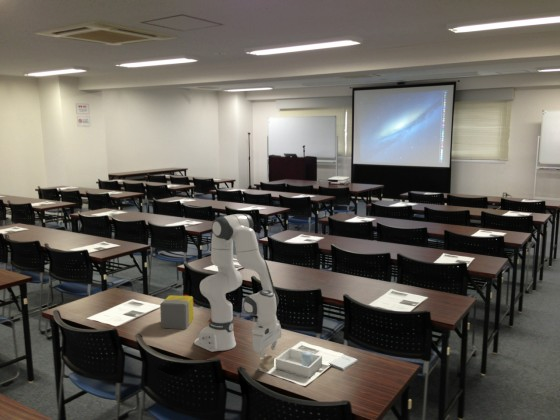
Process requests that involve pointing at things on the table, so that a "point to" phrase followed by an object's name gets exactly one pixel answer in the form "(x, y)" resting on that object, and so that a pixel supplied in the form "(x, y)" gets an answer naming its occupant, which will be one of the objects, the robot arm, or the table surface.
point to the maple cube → (267, 362)
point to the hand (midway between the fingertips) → (268, 353)
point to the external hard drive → (343, 362)
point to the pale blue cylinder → (306, 358)
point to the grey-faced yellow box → (176, 312)
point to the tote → (297, 363)
